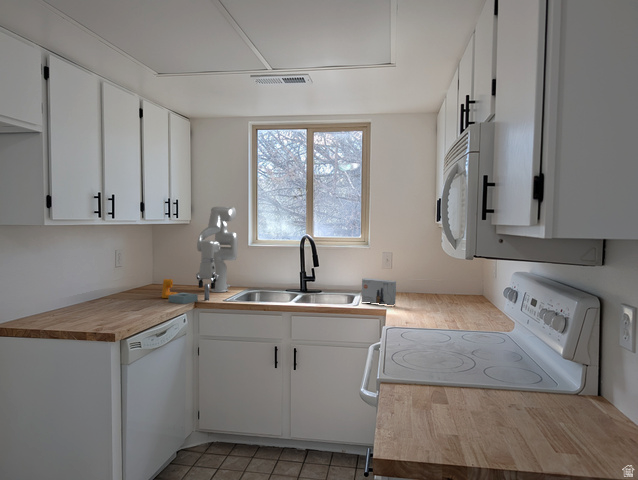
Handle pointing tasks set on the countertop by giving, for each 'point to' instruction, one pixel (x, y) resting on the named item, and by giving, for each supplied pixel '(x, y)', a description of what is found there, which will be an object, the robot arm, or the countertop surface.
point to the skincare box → (378, 291)
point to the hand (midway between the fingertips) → (206, 288)
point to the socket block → (183, 298)
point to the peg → (206, 292)
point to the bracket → (167, 288)
